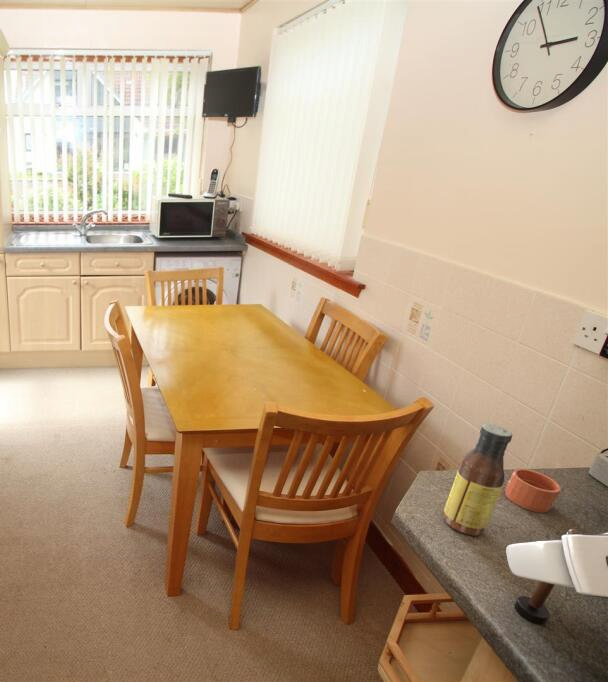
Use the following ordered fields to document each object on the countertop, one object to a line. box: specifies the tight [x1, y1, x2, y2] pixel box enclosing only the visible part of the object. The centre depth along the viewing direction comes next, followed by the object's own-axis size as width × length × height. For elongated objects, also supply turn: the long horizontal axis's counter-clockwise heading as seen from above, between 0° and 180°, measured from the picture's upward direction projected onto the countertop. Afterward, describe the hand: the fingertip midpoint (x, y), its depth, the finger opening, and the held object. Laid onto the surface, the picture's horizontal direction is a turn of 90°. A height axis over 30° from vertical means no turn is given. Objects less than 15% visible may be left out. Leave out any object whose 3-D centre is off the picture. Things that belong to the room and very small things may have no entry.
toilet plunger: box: [514, 528, 583, 626], centre depth 66 cm, size 4×4×16 cm
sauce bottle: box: [443, 423, 513, 537], centre depth 82 cm, size 6×6×20 cm
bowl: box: [504, 468, 562, 514], centre depth 92 cm, size 7×7×5 cm
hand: (551, 564), depth 66 cm, fingers closed on toilet plunger
